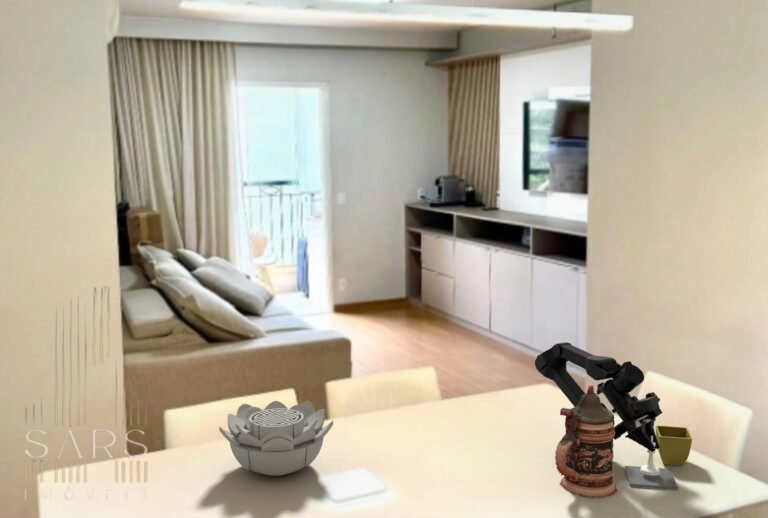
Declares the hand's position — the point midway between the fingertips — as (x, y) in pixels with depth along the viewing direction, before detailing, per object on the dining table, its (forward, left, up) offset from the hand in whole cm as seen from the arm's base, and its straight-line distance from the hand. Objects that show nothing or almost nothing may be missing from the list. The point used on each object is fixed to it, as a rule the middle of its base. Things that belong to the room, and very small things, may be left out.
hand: (656, 449), depth 213 cm
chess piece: (-1, +1, -7) cm, 7 cm away
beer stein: (-19, -7, -9) cm, 22 cm away
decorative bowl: (-102, -10, -9) cm, 103 cm away
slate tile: (-1, +1, -8) cm, 9 cm away
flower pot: (+7, +14, -9) cm, 18 cm away
